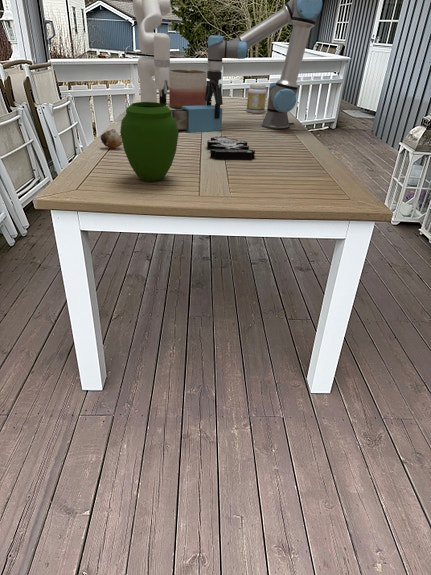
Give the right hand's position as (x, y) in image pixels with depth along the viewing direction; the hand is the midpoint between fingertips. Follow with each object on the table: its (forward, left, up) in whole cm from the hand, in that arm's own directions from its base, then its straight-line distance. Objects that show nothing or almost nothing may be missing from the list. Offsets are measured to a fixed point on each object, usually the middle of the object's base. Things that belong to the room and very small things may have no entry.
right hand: (212, 116), depth 222 cm
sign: (+11, +46, -6) cm, 48 cm away
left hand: (+28, +1, +6) cm, 29 cm away
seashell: (+60, +32, -6) cm, 68 cm away
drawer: (+20, +1, -5) cm, 21 cm away
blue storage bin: (+6, 0, -6) cm, 9 cm away
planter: (-11, -71, -6) cm, 72 cm away
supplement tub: (-51, -47, -6) cm, 70 cm away
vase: (+55, +77, -6) cm, 95 cm away
